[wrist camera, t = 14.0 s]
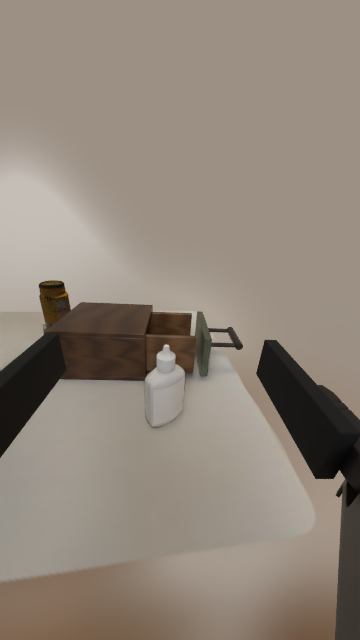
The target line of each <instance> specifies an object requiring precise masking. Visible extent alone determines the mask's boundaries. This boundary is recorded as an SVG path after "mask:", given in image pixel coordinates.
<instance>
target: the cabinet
mask: <svg viewBox="0 0 360 640" xmlns="http://www.w3.org/2000/svg"><path fill="white" fill-rule="evenodd" d="M151 312H153V310H152V305H134V304H109V303H85V302H82V303H80V304H78V305H77V306H76V307H75V308H74V309H72V310H71V311H70V312H69V313H67V314H66V315H65V316H64V317H62V318H61V319H60V320H59V321H58V322H56V323H55V324H54V325H53V326H51V327H50V328H49V329H48V330H47V331H46V333H47V334H59V338H60V342H61V347H62V351H63V356H64V360H65V365H66V369H67V370H66V371H65V372H64V374H63V375H62V376H61V378H60V379H89V380H135V381H145V378H146V376H147V371H146V348H145V335H146V331H147V327H148V324H149V320H150V316H151Z"/></svg>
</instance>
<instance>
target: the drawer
mask: <svg viewBox="0 0 360 640" xmlns="http://www.w3.org/2000/svg"><path fill="white" fill-rule="evenodd" d="M191 318H192V314H191V313H167V312H151V316H150V320H149V324H148V327H147V331H146V335H145V348H146V371H152V370H153V369H155V368H156V367H157V354H158V353H159V352H160V351H163V346H164V345H169V348H170V351H172V352H173V353H174V354H175V356H176V357H175V364H177V365H179V366H180V367H181V368H182V369H183V370H184V372H193V369H194V359H195V349H196V353H197V359H198V364H199V370H200V375H201V376H207V372H208V364H209V357H210V349H211V347H235V348H236V349H237V350H240V349H242V348H243V345H242V343H241V342H240V340H239V338H238V336H237V335H236V333H235V331H234V330H233V328H232V327H229V328H227V329H212V328H208V327H207V324H206V321H205V318H204V315H203V312H197V319H196V329H195V336H190V330H191ZM209 332H228V334H229V336H230V338H231V340H232V342H233V343H211V342H212V339H211V336H210V333H209Z"/></svg>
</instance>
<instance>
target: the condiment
mask: <svg viewBox="0 0 360 640" xmlns="http://www.w3.org/2000/svg"><path fill="white" fill-rule="evenodd" d="M39 288H40V293H41V294H40V302H41V306H42V310H43V314H44V318H45V323H46V324H44V325H43V330H44V335H45V334H46V331H47V330H48V329H49V328H50V327H51V326H53V325H54V324H55V323H56V322H58V321H59V320H60V319H61V318H62V317H64V316H65V315H66V314H67V313H69V312H70V311H71V309H70V304H69V299H68V294H67V292H66V291H65V287H64V283H63V282H62V281H45V282H41V283H40V284H39Z"/></svg>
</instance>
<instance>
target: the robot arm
mask: <svg viewBox="0 0 360 640" xmlns="http://www.w3.org/2000/svg"><path fill="white" fill-rule="evenodd" d="M66 370H67V369H66V365H65V360H64V356H63V351H62V347H61V342H60V338H59V334H47V333H46V334H45V335H44V336H42V337H41V338H40V339H39V340H38V341H36V342H35V343H34V344H33V345H32V346H30V347H29V348H28V349H27V350H26V351H24V352H23V353H22V354H21V355H19V356H18V357H17V358H16V359H15V360H13V361H12V362H11V363H10V364H9V365H7V366H6V367H5V368H4V369H3V370H1V371H0V457H1V456H2V455H3V454H4V452H5V451H6V450H7V448H8V447H9V446H10V444H11V443H12V442H13V440H14V439H15V438H16V436H17V435H18V434H19V432H20V431H21V430H22V428H23V427H24V426H25V424H26V423H27V422H28V420H29V419H30V418H31V416H32V415H33V414H34V412H35V411H36V410H37V408H38V407H39V406H40V404H41V403H42V402H43V400H44V399H45V398H46V396H47V395H48V394H49V392H50V391H51V390H52V388H53V387H54V386H55V384H56V383H57V382H58V380H59V379H60V378H61V376H62V375H63V374H64V372H65V371H66ZM256 374H257V376H258V378H259V379H260V381H261V383H262V384H263V386H264V388H265V390H266V392H267V394H268V395H269V397H270V399H271V401H272V402H273V404H274V406H275V408H276V409H277V411H278V413H279V415H280V417H281V418H282V420H283V422H284V424H285V425H286V427H287V429H288V431H289V433H290V434H291V436H292V438H293V440H294V441H295V443H296V445H297V447H298V448H299V450H300V452H301V454H302V455H303V457H304V459H305V461H306V463H307V464H308V466H309V468H310V470H311V471H312V473H313V475H314V476H315V478H316V479H334V477H335V476H336V474H337V472H338V471H339V470H340V471H341V473H342V474H343V476H344V477H345V480H344V482H343V483H342V485H341V487H340V488H339V490H338V491H337V494H336V496H338V497H340V495H341V494H342V510H341V529H340V530H341V531H340V549H339V550H340V551H339V569H338V589H337V609H336V629H335V640H360V420H359V419H358V418H357V417H356V416H355V415H354V414H353V412H352V411H350V410H349V409H348V407H347V406H346V405H345V404H344V403H342V402H341V400H340V399H339V398H338V397H337V396H336V395H335V394H334V393H333V392H332V391H330V390H329V389H327V388H326V387H324V386H323V385H317V384H316V383H315V382H314V381H313V380H312V379H311V378H310V377H309V376H308V375H307V373H306V372H305V371H304V370H303V369H302V368H301V367H300V366H299V365H298V364H297V362H296V361H295V360H294V359H293V358H292V357H291V356H290V355H289V354H288V353H287V352H286V350H285V349H284V348H283V347H282V346H281V345H280V344H279V343H278V342H277V340H265V341H264V345H263V349H262V353H261V357H260V361H259V365H258V369H257V373H256Z"/></svg>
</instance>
